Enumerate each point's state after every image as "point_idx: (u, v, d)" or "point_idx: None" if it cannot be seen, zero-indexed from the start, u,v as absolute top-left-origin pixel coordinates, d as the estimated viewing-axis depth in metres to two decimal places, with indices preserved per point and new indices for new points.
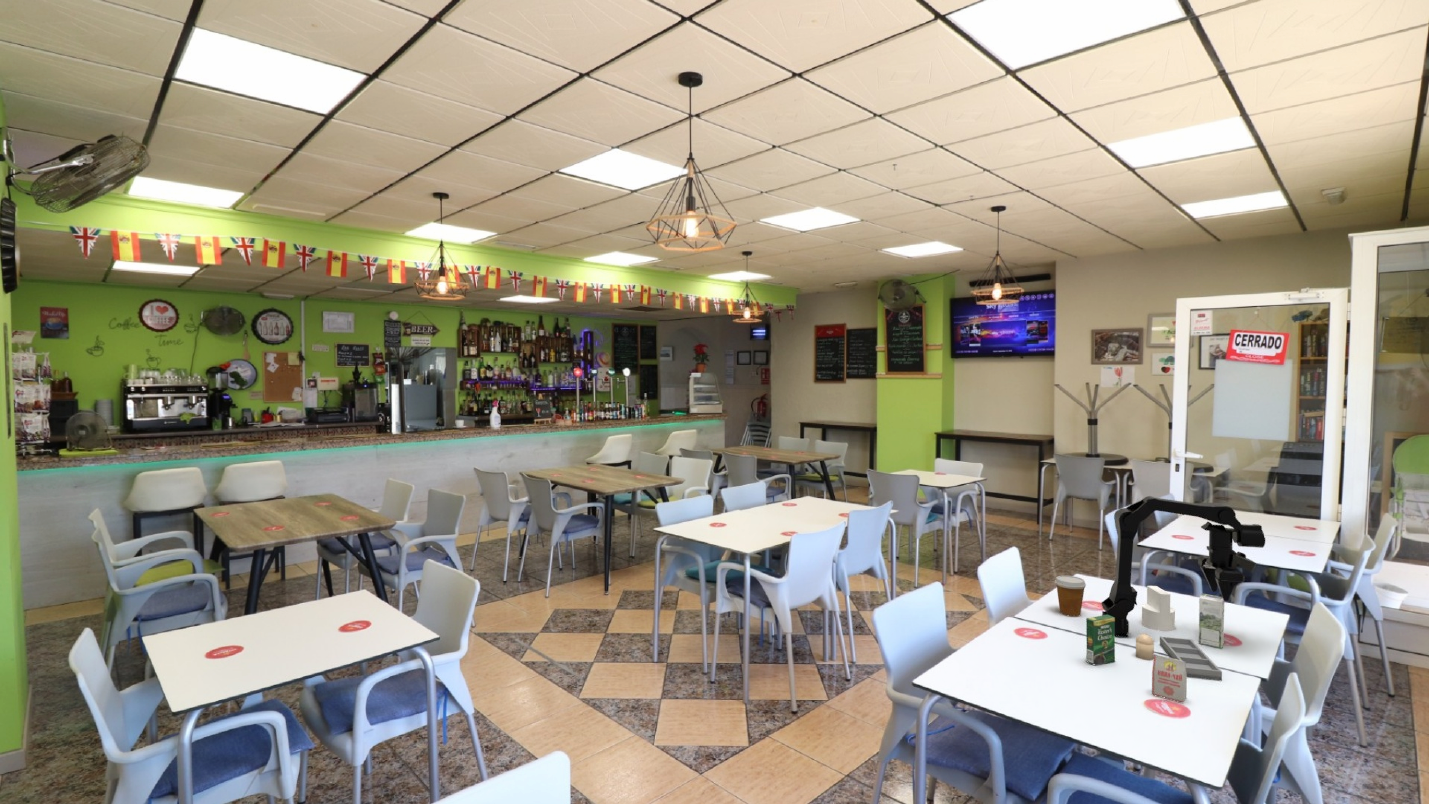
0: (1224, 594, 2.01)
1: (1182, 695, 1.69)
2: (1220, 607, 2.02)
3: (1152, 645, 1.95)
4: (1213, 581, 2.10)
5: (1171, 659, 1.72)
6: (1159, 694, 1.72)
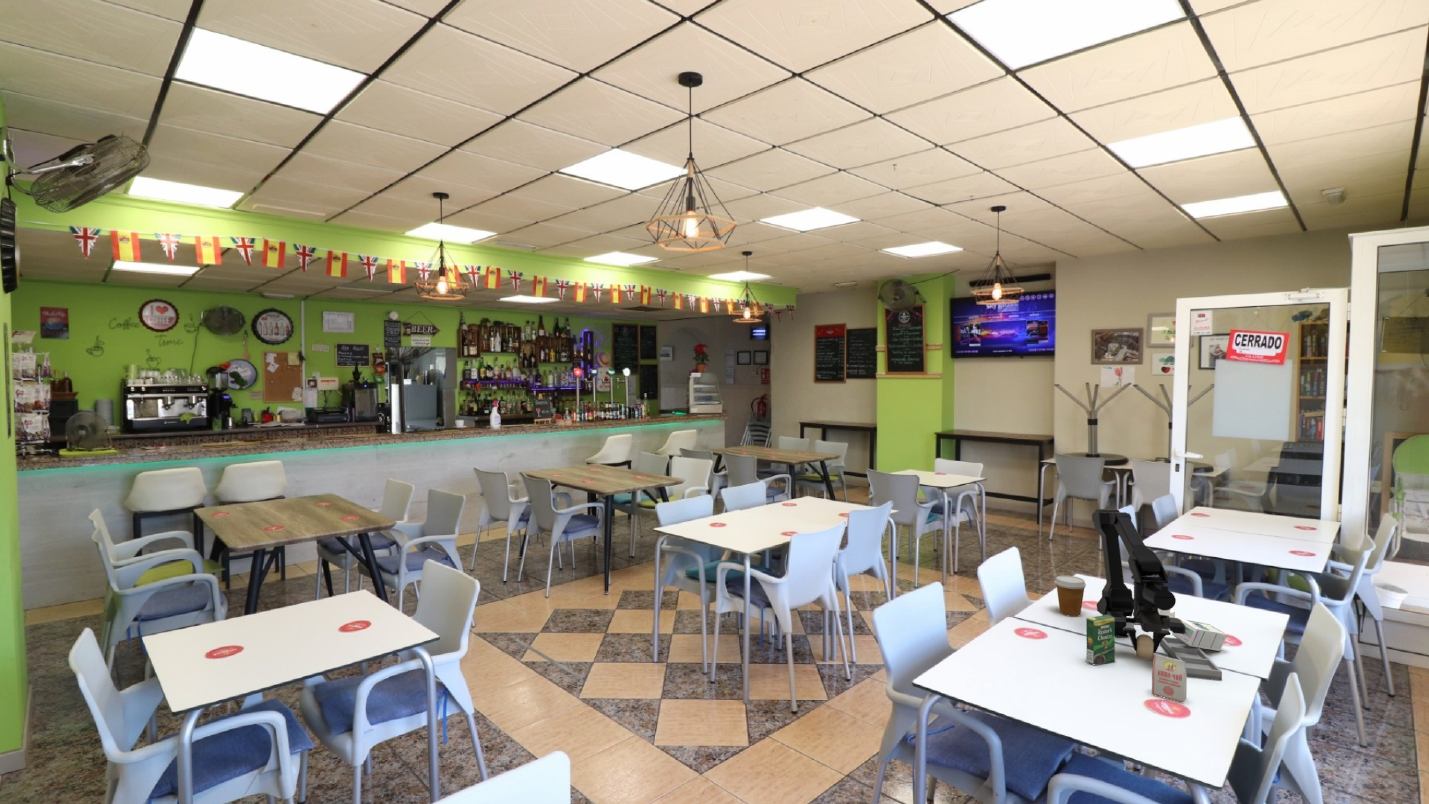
0: None
1: (1182, 695, 1.69)
2: (1192, 645, 1.96)
3: (1152, 645, 1.95)
4: (1154, 641, 1.96)
5: (1171, 659, 1.72)
6: (1159, 694, 1.72)
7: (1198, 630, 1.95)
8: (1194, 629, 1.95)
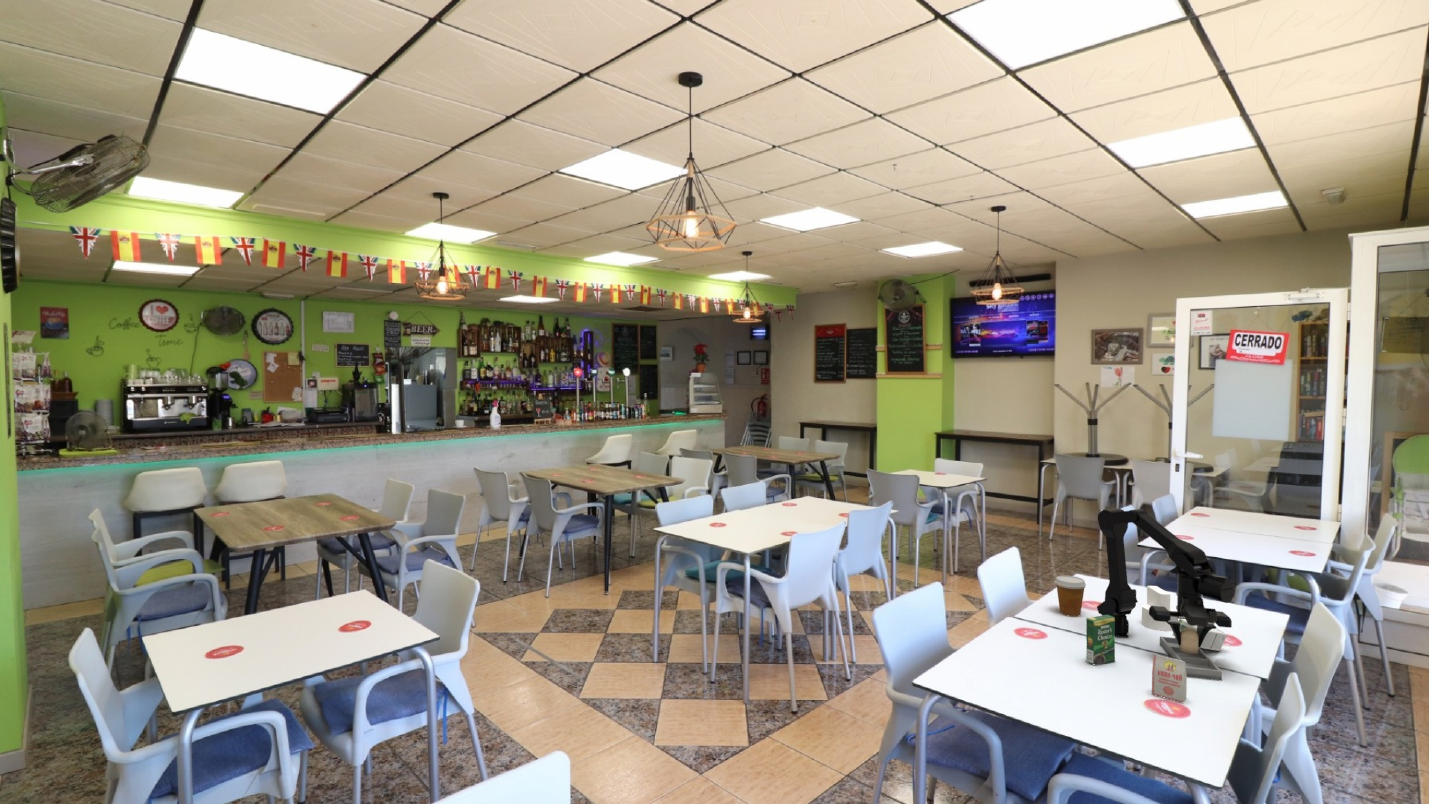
0: (1175, 636, 1.95)
1: (1182, 695, 1.69)
2: None
3: (1197, 639, 1.91)
4: (1198, 635, 1.93)
5: (1171, 659, 1.72)
6: (1159, 694, 1.72)
7: None
8: (1195, 629, 1.95)
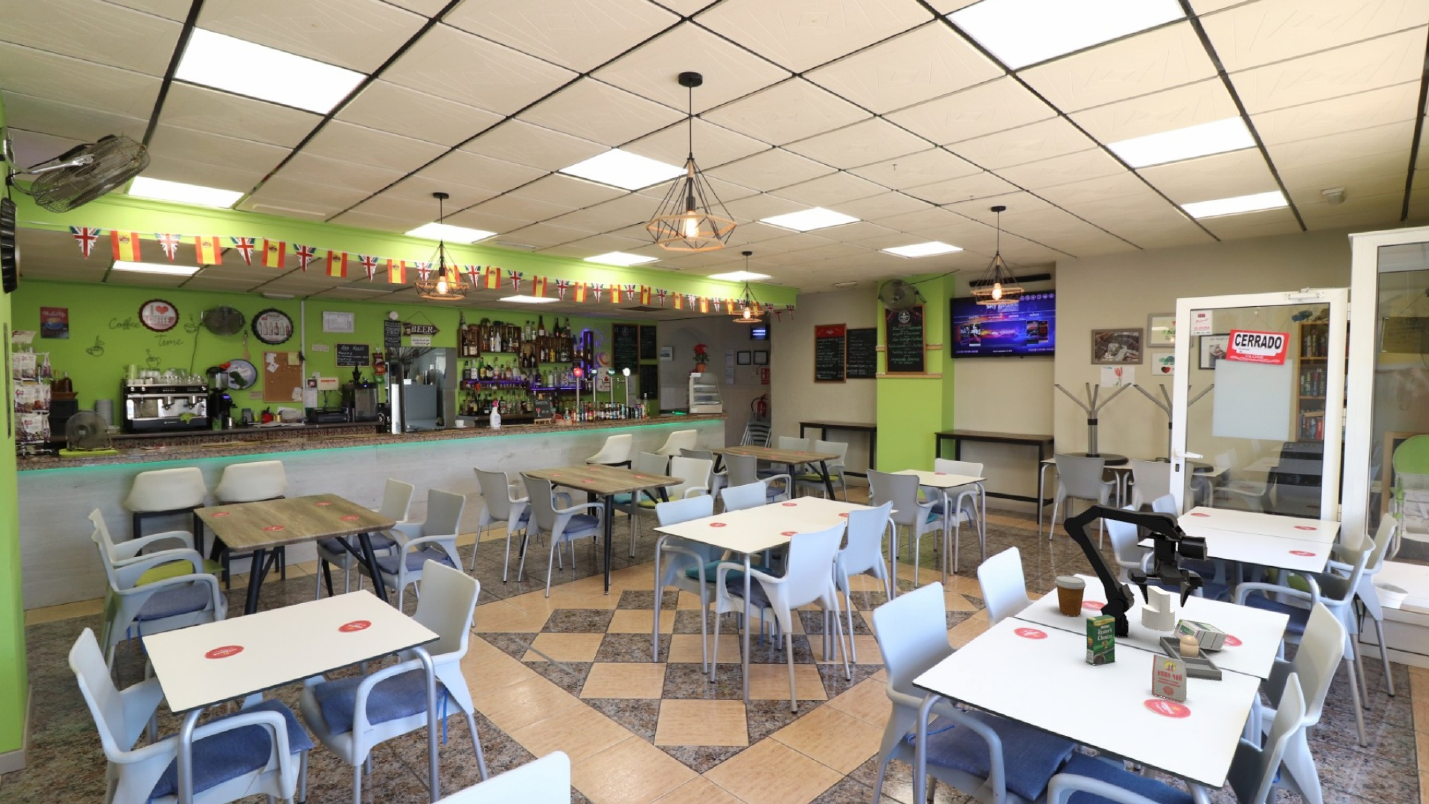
0: (1143, 596, 2.08)
1: (1182, 695, 1.69)
2: None
3: (1197, 646, 1.91)
4: (1181, 596, 2.04)
5: (1171, 659, 1.72)
6: (1159, 694, 1.72)
7: (1199, 631, 1.95)
8: (1195, 630, 1.95)
